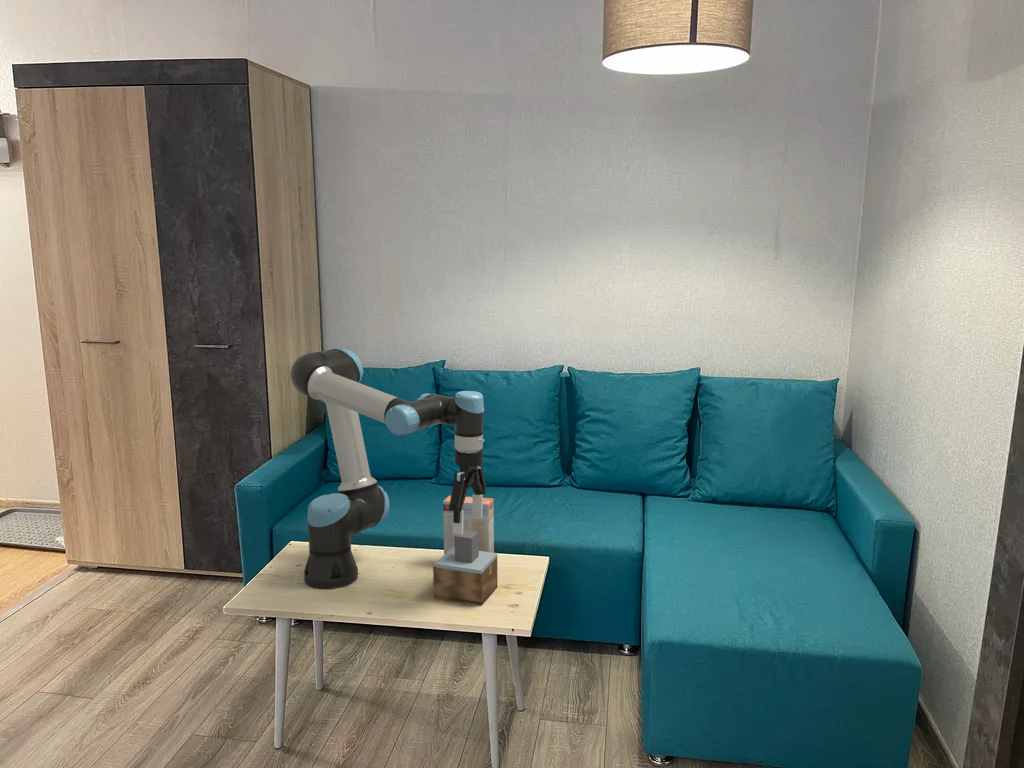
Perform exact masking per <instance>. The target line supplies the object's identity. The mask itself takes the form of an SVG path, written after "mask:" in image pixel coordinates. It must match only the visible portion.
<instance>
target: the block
mask: <svg viewBox="0 0 1024 768" xmlns="http://www.w3.org/2000/svg"><path fill="white" fill-rule="evenodd" d="M478 557H479V532H475V531H467V530H463V535H460V534H456V535H455V561H461V562H468V563H473V562H474V561H475V560H476V559H477V558H478Z"/></svg>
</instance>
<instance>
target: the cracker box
mask: <svg viewBox="0 0 1024 768" xmlns="http://www.w3.org/2000/svg"><path fill="white" fill-rule="evenodd" d="M472 499H473V496H466V497H465V500H464V504H463V508H462V510H463V530H467V531H475V532H479V551H484V552H491V553H495V547H494V546H495V534H494V533H495V532H494V530H495V529H494V527H495V526H494V521H495V520H494V516H495V515H494V511H495V509H494V498H489V497H483V501H482V518H478V517H472ZM450 500H451V495H448V496H447V497H446V498H445V499H444V500H443V501H442V502H443V503H442V504H443V505H442V507H443V508H442V509H443V511H442V512H443V514H442V515H443V519H442V520H443V521H442V523H443V555H445V554H446V553H447V552H448V551H449V550H450V549H451V548H452V547H455V535H456V534H453V511H451V510H449V505H450Z"/></svg>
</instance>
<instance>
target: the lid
mask: <svg viewBox="0 0 1024 768" xmlns="http://www.w3.org/2000/svg"><path fill="white" fill-rule="evenodd" d="M496 558H497V559H498V553H497V552H494V553H491V552H484V551H479V557H478V558H477V559H476V560H475V561H474V562H473V563H468V562H461V561H455V547H452V548H451V549H450V550H449V551H448V552H447V553H446V554H445V555H444V554H443V555H442V556H441V557H440V558H439V559H438V560H437V561H436V562H434V565H433V566H435V567H437V568H444V569H451V570H458V571H464V572H471V573H478V574H482V572H483V571H484V570H485V569H486V568H487V567H488V566H489V565H490V564H491V563H492V562H493V561H494V560H495V559H496Z"/></svg>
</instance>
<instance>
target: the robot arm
mask: <svg viewBox="0 0 1024 768" xmlns="http://www.w3.org/2000/svg"><path fill="white" fill-rule="evenodd" d="M363 374H364V367H363V364H362V362H361V359H360V358H359V356H358V355H357V354H356V353H354V352H353V351H352V350H350V349H348V348H332V349H326V350H322V351H315V352H309V353H308V352H307V353H304V354H302V355H301V356H299V357H298V358H296V360H295V361H294V362H293V364H292V365H291V369H290V374H289V375H290V381H291V383H292V386H293V388H295V389H296V391H298V392H299V393H300V394H302V395H303V396H306V397H308V398H311V399H313V400H316V401H319V400H320V401H322V402H324V403H325V405H326V406H325V407H326V411H327V416H328V420H329V421H328V422H329V426H330V429H331V430H330V431H331V437H332V441H333V445H334V449H335V450H334V451H335V454H336V461H337V465H338V470H339V475H340V479H341V480H340V481H341V483H340V485H339V486H338V487H337V492H338V493H336V492H335V493H334V492H333V493H329V494H324V495H323V494H322V495H320V496H317V497H315V498H314V499H313V500H312V501H311V502H310V503H309V504H308V507H307V516H306V520H307V532H308V533H307V535H308V551H309V552H308V557H307V560H306V564H305V566H304V567H305V568H304V571H303V582H304V583H305V584H306V585H307V586H309V587H310V588H315V589H324V590H326V589H328V590H329V589H337V588H341V587H345V586H347V585H350V584H352V583H354V582H355V581H357V579H358V578H359V568H358V565H357V563H356V560H355V557H354V555H353V552H352V538H351V537H352V536H355V535H357V534H359V533H361V532H364V531H366V530H368V529H372V528H374V527H375V526H377V525H378V524H380V523H382V522H383V521H384V520H385V519H387V516H388V515H389V511H390V499H389V496H388V493H387V492H386V491H384V488H383V487H382V486H381V485H379V484H378V480H377V479H375V478H374V477H372V476H371V470H370V467H369V461H368V457H367V455H368V454H367V452H366V446H365V441H364V435H363V432H362V431H363V430H362V426H361V422H360V416H359V414H361V415H364V416H366V417H368V418H370V419H373V420H376V421H377V422H378V421H379V422H380V423H383V424H385V425H386V428H387V429H388V430H389V431H390V433H392V434H393V435H396V436H401V435H402V436H403V435H409V434H412V433H414V432H416V431H420V430H423V429H427V428H429V427H432V426H435V425H438V424H441V425H448V426H454V449H455V450H454V464H456V466H458V467H459V472H454V475H453V477H454V479H453V485H452V491H451V495H450V496H451V500H450V505H449V510H451V511H453V534H460V535H463V510H462V508H463V504H464V500H465V497H467V493H468V490H469V489H470V488H471V489H472V491H473V494H472V497H473V499H472V517H478V518H482V501H483V498H484V497H483V495H486V494H487V490H486V489H487V485H486V484H487V483H486V480H485V476H484V470H483V463H484V451H483V446H484V445H483V444H484V443H485V439H484V412H485V407H484V396H483V394H482V393H481V392H479V391H474V390H471V391H470V390H461V391H458V392H456V393H455V396H454V397H453V396H447V395H442V394H441V395H440V394H437V393H422V394H421V395H420V396H419V397H418V398H417V399H416V400H414V401H413V400H412V401H408V400H405V399H402V398H400V397H397V396H395V395H392V394H390V393H386V392H385V391H384V392H383V391H381V390H378V389H376V388H374V387H370V386H367V385H366V384H362V383H361V380H362V379H363V378H362V377H363Z"/></svg>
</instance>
